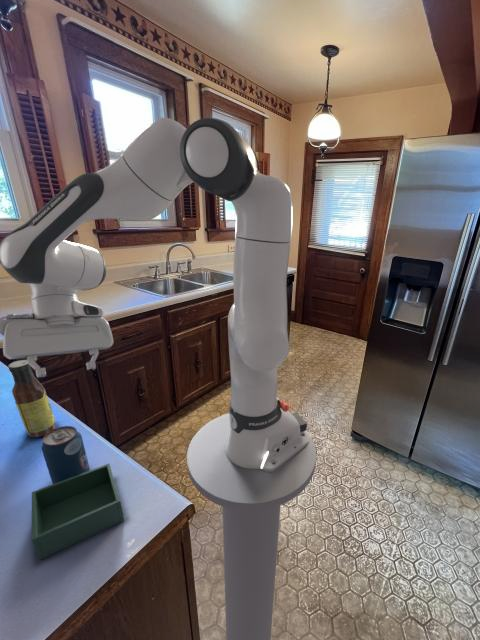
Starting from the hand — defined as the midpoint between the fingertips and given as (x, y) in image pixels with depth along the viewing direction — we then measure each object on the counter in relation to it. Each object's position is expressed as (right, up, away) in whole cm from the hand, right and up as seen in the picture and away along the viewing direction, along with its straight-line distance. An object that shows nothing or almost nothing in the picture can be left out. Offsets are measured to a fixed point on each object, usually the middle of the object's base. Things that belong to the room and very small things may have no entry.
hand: (67, 373), depth 69 cm
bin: (+8, -27, -9) cm, 29 cm away
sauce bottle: (-15, -17, +12) cm, 26 cm away
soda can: (+2, -23, -1) cm, 23 cm away
